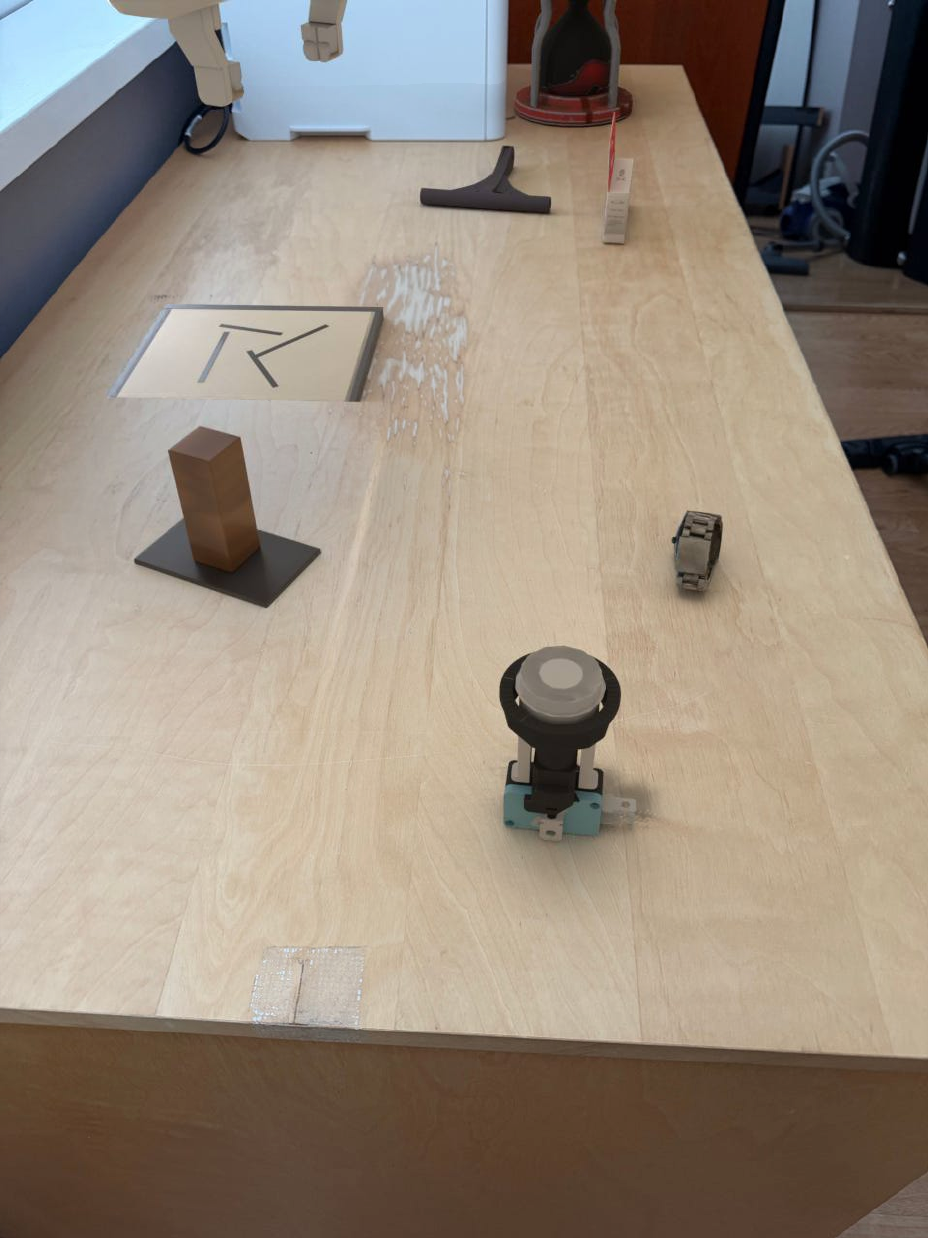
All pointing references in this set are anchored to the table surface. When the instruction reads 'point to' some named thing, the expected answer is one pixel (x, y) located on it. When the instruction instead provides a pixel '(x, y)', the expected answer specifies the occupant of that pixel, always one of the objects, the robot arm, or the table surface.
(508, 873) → the table surface
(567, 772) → the push button
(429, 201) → the squeegee
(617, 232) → the ink cartridge box
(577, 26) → the hourglass
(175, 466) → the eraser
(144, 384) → the whiteboard
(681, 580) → the wristwatch
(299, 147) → the table surface
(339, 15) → the robot arm
